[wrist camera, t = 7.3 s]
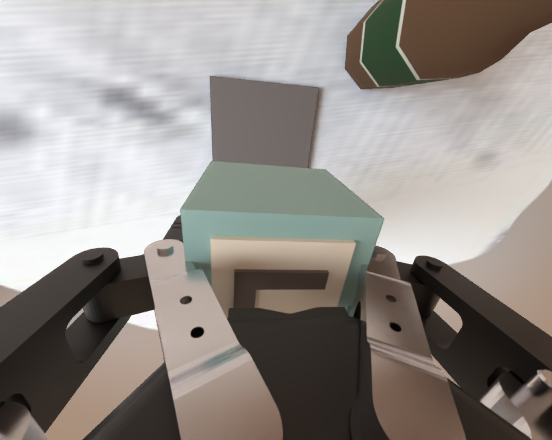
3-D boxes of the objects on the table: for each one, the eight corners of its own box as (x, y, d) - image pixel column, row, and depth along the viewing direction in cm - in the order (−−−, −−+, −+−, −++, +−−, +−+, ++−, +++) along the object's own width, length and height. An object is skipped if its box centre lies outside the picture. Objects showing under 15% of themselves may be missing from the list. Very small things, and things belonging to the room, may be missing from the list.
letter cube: (211, 160, 12) (176, 214, 6) (325, 169, 12) (390, 223, 7) (213, 258, 14) (191, 360, 9) (307, 260, 15) (343, 353, 9)
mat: (210, 76, 25) (209, 76, 24) (317, 88, 26) (318, 87, 26) (214, 183, 30) (213, 184, 30) (303, 187, 32) (304, 189, 31)
